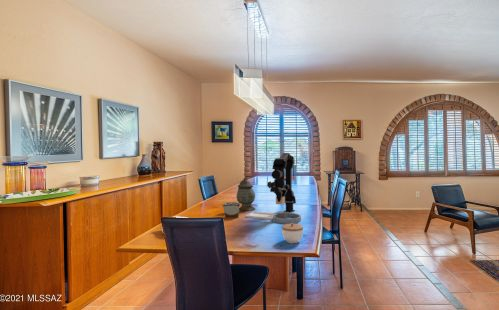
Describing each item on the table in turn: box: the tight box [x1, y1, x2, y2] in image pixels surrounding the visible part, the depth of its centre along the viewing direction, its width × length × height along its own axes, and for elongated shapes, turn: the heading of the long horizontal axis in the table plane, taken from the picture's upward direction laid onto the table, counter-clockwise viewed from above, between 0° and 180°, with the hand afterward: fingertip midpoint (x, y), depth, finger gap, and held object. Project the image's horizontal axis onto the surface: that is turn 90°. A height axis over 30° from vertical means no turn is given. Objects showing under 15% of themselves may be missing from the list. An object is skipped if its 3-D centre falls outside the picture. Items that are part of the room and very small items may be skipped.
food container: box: [222, 201, 241, 219], centre depth 211 cm, size 12×6×10 cm, turn 84°
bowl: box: [272, 212, 302, 224], centre depth 198 cm, size 18×18×3 cm
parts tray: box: [244, 211, 277, 221], centre depth 210 cm, size 13×19×2 cm
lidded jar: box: [281, 223, 304, 244], centre depth 155 cm, size 11×11×9 cm
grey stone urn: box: [236, 177, 257, 212], centre depth 233 cm, size 14×14×25 cm
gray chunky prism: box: [277, 211, 288, 219], centre depth 200 cm, size 4×4×4 cm
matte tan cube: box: [275, 196, 285, 205], centre depth 201 cm, size 4×4×4 cm
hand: (280, 201), depth 201 cm, fingers closed on matte tan cube, 4 cm apart
